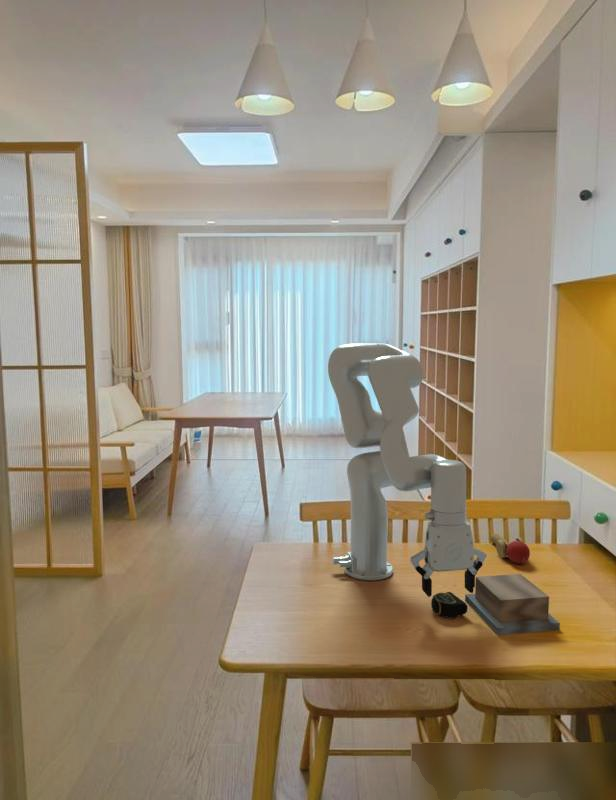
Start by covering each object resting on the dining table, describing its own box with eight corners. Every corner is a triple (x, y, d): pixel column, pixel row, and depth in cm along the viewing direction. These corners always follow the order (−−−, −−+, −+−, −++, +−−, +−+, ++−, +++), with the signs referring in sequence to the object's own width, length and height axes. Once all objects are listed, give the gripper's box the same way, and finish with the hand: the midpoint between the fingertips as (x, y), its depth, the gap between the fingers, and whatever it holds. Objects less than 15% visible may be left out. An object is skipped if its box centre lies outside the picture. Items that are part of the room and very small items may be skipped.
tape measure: (468, 618, 129) (469, 602, 129) (441, 623, 127) (441, 606, 127) (451, 604, 136) (452, 589, 135) (425, 608, 134) (426, 593, 133)
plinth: (497, 635, 122) (498, 605, 121) (465, 600, 137) (465, 573, 137) (559, 629, 124) (561, 600, 123) (520, 596, 140) (521, 569, 139)
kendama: (480, 548, 174) (507, 563, 156) (483, 527, 174) (510, 540, 156) (504, 552, 175) (534, 567, 157) (508, 531, 175) (538, 544, 157)
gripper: (416, 524, 124) (416, 602, 125) (493, 519, 126) (492, 596, 128) (405, 514, 131) (405, 588, 132) (478, 509, 134) (477, 582, 135)
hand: (448, 592), depth 130 cm, fingers open, 9 cm apart
